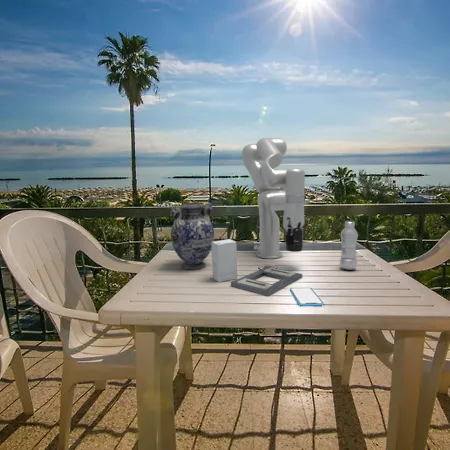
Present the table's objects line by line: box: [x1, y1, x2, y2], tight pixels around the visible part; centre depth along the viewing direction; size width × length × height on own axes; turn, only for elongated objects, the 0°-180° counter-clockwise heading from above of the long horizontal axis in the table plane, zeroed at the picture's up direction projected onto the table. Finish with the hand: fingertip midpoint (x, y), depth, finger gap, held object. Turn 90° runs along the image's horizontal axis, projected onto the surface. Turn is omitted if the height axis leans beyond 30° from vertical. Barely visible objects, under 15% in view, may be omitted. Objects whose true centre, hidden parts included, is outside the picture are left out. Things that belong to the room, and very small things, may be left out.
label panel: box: [230, 266, 303, 297], centre depth 119 cm, size 16×24×2 cm, turn 140°
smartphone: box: [289, 287, 324, 307], centre depth 103 cm, size 8×1×15 cm
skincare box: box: [211, 238, 238, 283], centre depth 122 cm, size 8×6×15 cm
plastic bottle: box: [339, 220, 359, 271], centre depth 131 cm, size 6×7×20 cm
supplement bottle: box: [285, 222, 304, 253], centre depth 131 cm, size 7×7×12 cm
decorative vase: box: [169, 201, 215, 271], centre depth 139 cm, size 21×18×28 cm
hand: (294, 242), depth 132 cm, fingers closed on supplement bottle, 6 cm apart
